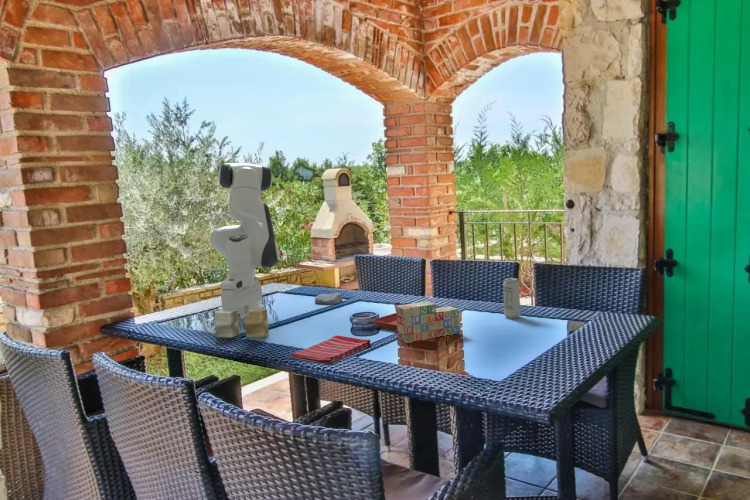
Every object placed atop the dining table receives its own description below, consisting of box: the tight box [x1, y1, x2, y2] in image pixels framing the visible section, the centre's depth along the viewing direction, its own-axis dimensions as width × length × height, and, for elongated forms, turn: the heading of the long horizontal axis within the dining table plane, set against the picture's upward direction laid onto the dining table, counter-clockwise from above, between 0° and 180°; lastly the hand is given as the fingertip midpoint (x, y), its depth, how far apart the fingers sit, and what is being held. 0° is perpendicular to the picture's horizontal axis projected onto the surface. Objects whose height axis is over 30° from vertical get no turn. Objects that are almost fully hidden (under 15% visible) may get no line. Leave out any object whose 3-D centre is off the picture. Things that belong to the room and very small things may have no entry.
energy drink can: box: [502, 277, 521, 320], centre depth 234 cm, size 6×6×15 cm
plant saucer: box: [371, 312, 398, 332], centre depth 231 cm, size 18×18×3 cm
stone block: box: [314, 292, 343, 305], centre depth 283 cm, size 12×5×10 cm
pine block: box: [214, 310, 240, 340], centre depth 228 cm, size 4×7×10 cm, turn 67°
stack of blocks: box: [395, 300, 460, 344], centre depth 213 cm, size 21×6×12 cm, turn 112°
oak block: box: [244, 308, 270, 339], centre depth 227 cm, size 4×7×10 cm, turn 67°
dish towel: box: [289, 335, 372, 365], centre depth 202 cm, size 17×24×3 cm
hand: (244, 317), depth 220 cm, fingers closed
